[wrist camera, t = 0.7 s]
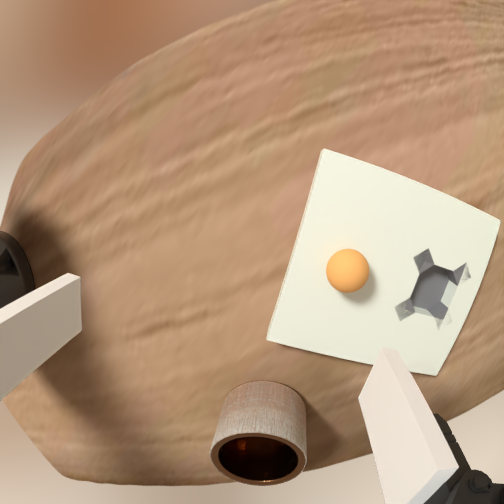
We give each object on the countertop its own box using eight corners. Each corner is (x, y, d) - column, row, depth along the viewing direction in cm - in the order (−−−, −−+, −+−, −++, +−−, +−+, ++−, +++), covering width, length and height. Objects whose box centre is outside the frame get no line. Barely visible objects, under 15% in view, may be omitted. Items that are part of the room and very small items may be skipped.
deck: (267, 329, 34) (266, 339, 32) (321, 151, 29) (324, 148, 27) (429, 365, 33) (436, 375, 31) (489, 217, 28) (500, 220, 26)
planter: (300, 437, 38) (300, 488, 29) (224, 431, 39) (211, 481, 30) (310, 379, 36) (314, 434, 26) (222, 373, 37) (205, 425, 27)
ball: (318, 278, 30) (322, 292, 26) (331, 239, 29) (337, 248, 25) (355, 288, 30) (364, 304, 26) (369, 251, 29) (380, 261, 25)
